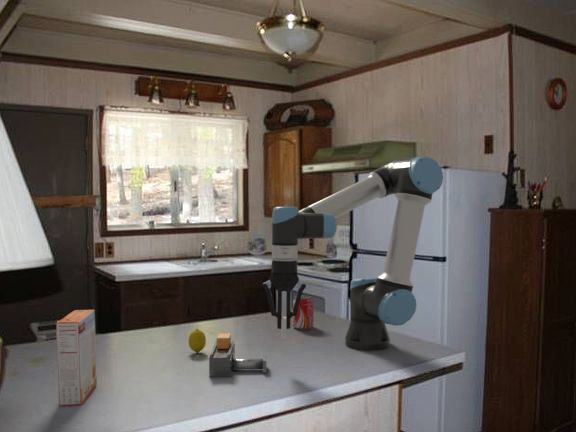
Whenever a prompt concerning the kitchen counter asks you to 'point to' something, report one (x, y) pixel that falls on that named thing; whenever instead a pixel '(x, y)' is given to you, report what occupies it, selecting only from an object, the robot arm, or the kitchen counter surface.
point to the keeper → (223, 341)
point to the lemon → (197, 340)
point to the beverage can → (304, 313)
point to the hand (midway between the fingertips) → (283, 339)
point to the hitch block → (221, 361)
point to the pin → (250, 364)
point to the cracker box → (76, 357)
